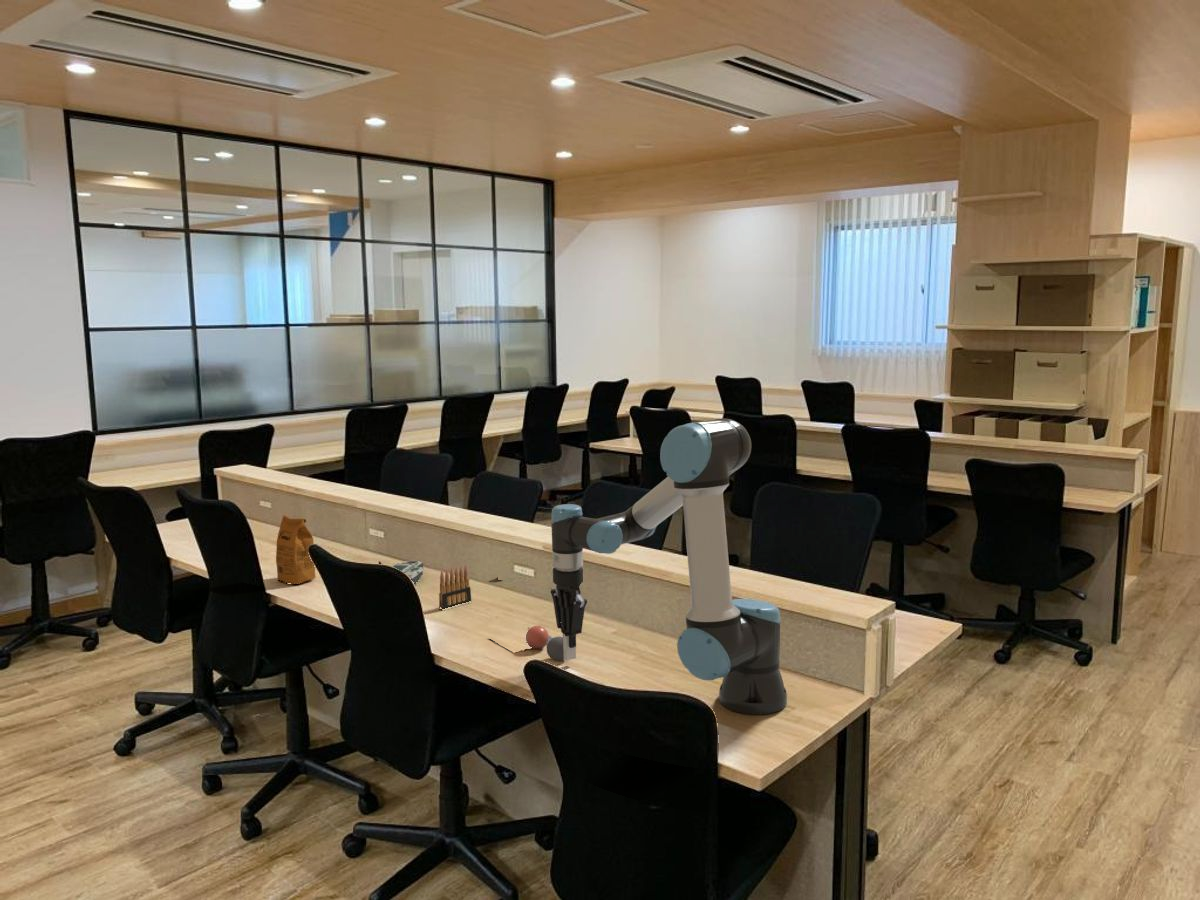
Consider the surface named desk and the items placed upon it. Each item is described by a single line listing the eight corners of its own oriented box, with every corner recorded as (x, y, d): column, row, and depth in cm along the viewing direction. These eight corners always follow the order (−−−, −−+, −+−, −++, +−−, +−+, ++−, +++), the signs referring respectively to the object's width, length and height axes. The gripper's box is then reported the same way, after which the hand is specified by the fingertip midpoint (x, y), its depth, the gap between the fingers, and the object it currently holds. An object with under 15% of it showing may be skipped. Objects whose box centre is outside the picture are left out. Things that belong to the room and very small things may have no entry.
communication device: (433, 569, 321) (432, 545, 319) (414, 589, 297) (413, 562, 296) (400, 569, 322) (399, 544, 320) (378, 588, 298) (376, 562, 297)
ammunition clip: (468, 601, 283) (466, 563, 281) (471, 602, 281) (470, 564, 280) (439, 609, 275) (437, 570, 273) (442, 610, 274) (441, 572, 272)
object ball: (553, 628, 240) (541, 620, 245) (534, 633, 237) (522, 624, 242) (552, 649, 242) (540, 640, 247) (533, 654, 238) (521, 645, 243)
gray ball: (566, 629, 235) (558, 642, 238) (547, 635, 231) (539, 648, 235) (577, 648, 232) (569, 661, 235) (557, 654, 228) (550, 667, 232)
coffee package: (298, 574, 315) (294, 511, 312) (320, 580, 308) (315, 516, 304) (272, 581, 308) (268, 517, 304) (294, 587, 300) (289, 521, 297)
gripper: (540, 564, 229) (543, 654, 233) (569, 575, 219) (571, 669, 222) (565, 559, 233) (567, 647, 237) (595, 570, 223) (597, 662, 226)
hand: (569, 658), depth 230 cm, fingers closed
